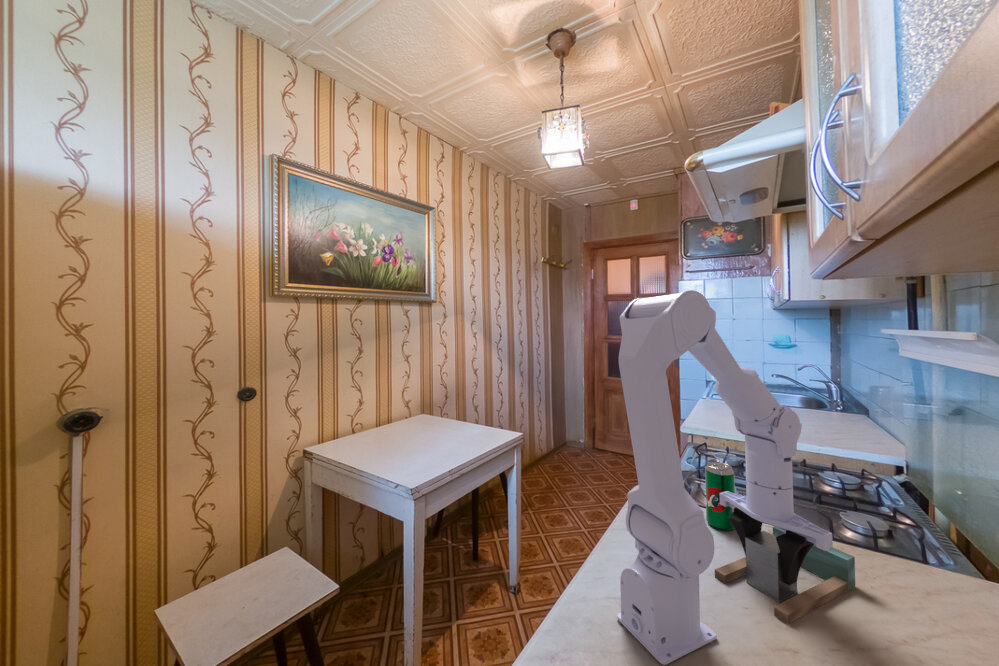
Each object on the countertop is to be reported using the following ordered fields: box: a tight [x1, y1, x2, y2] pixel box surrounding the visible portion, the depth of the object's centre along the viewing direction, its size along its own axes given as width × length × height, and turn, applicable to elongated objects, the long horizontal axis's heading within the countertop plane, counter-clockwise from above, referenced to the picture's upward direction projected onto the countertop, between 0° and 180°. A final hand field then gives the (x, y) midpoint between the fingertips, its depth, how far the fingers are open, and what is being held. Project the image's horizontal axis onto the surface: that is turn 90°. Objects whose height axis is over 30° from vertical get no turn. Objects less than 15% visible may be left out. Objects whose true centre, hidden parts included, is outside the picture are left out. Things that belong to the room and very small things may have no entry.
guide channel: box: [714, 526, 856, 625], centre depth 55 cm, size 17×10×4 cm, turn 113°
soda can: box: [704, 461, 736, 532], centre depth 72 cm, size 5×5×12 cm
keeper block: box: [745, 530, 798, 603], centre depth 54 cm, size 4×4×7 cm
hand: (771, 571), depth 54 cm, fingers closed on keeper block, 4 cm apart
